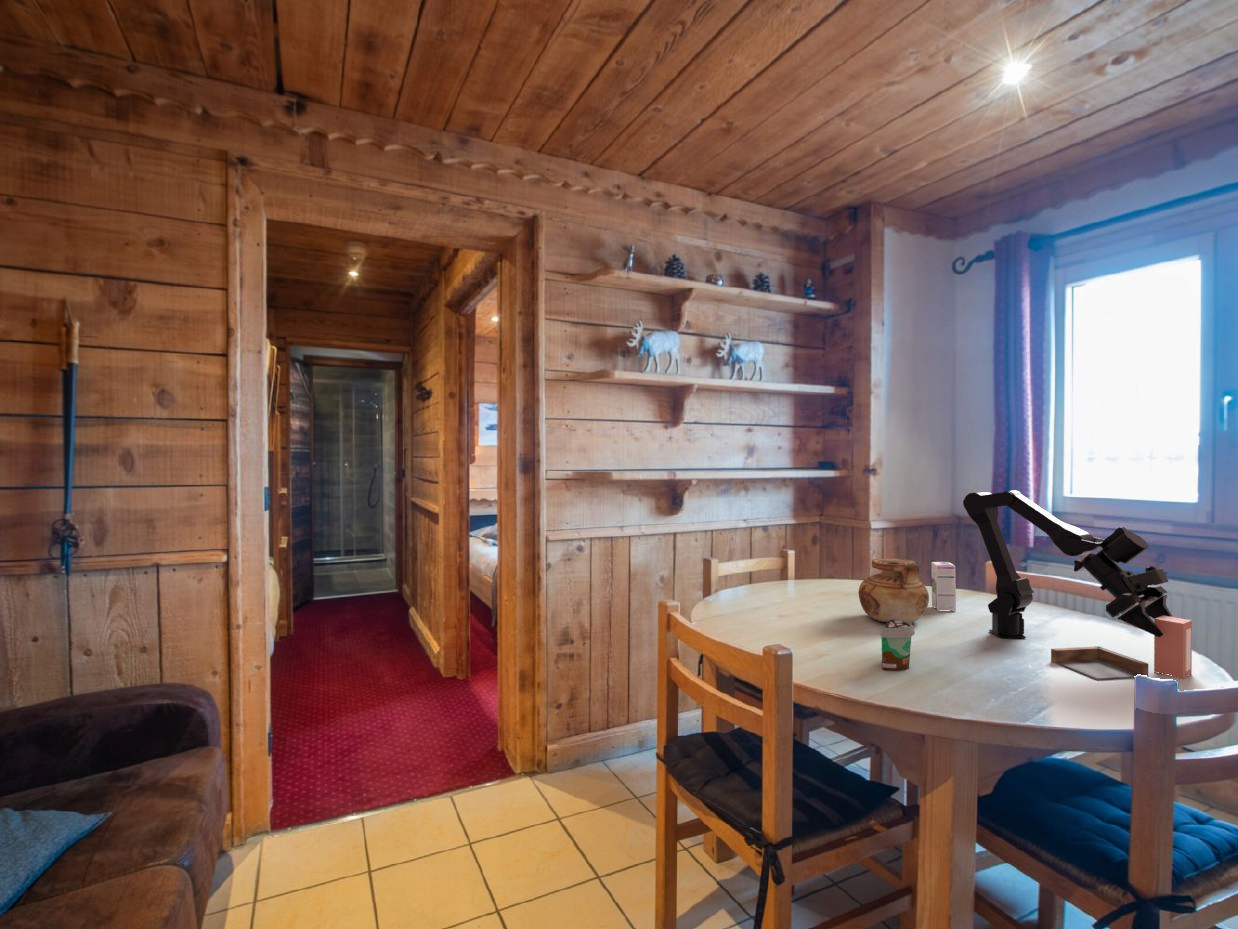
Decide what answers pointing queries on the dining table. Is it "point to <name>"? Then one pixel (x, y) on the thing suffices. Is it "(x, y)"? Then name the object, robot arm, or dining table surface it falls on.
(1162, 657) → the red block
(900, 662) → the food container
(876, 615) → the clay pot
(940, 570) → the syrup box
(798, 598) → the dining table surface
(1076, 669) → the tray
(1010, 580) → the robot arm
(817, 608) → the dining table surface
